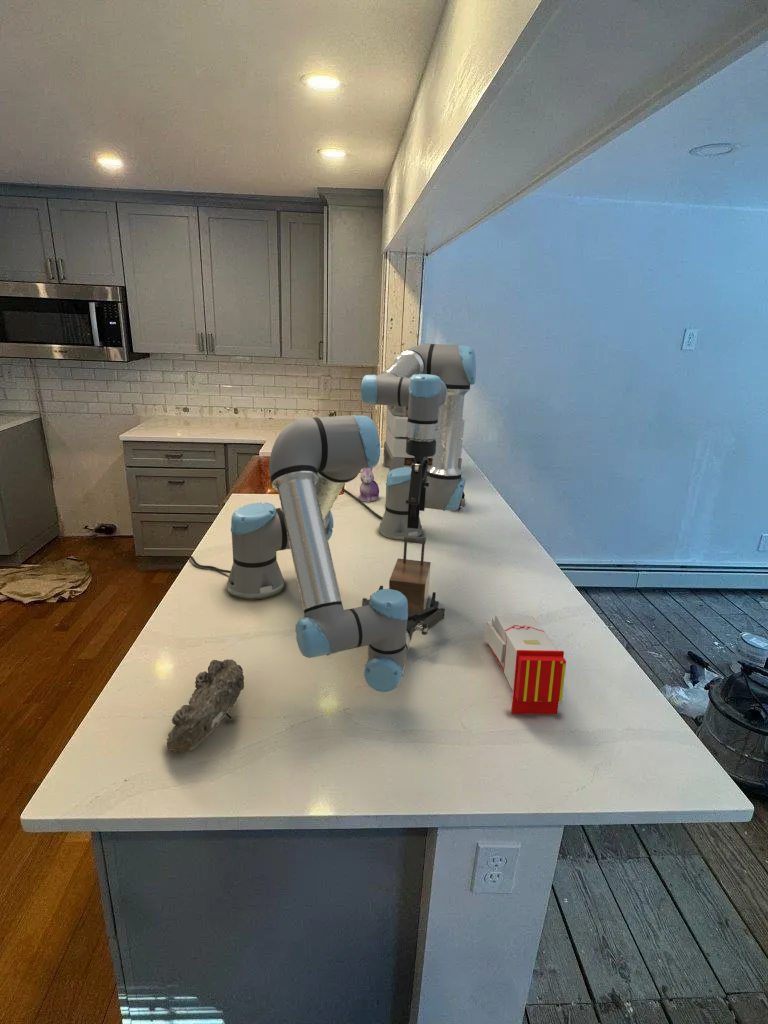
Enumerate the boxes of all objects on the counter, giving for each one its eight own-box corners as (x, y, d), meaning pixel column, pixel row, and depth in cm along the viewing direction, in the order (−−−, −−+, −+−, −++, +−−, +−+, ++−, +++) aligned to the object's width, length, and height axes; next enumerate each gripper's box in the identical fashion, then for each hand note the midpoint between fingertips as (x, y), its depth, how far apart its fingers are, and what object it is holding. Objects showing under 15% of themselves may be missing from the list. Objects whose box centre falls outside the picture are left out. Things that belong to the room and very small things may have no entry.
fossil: (192, 660, 117) (244, 628, 112) (224, 691, 120) (276, 661, 115) (142, 746, 98) (202, 712, 93) (182, 779, 101) (242, 748, 96)
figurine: (363, 503, 228) (365, 467, 223) (353, 496, 237) (354, 461, 232) (384, 501, 233) (386, 465, 227) (373, 493, 241) (374, 459, 236)
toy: (530, 600, 137) (574, 657, 108) (525, 651, 140) (567, 720, 111) (480, 599, 137) (511, 656, 107) (477, 651, 139) (506, 719, 110)
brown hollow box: (395, 593, 158) (397, 562, 155) (428, 597, 157) (430, 566, 154) (387, 616, 146) (389, 583, 143) (422, 621, 145) (425, 587, 142)
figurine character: (465, 515, 224) (460, 499, 237) (467, 498, 221) (462, 483, 234) (448, 515, 224) (444, 499, 237) (450, 498, 220) (445, 482, 234)
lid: (397, 561, 156) (399, 531, 153) (430, 565, 154) (433, 535, 151) (389, 583, 143) (390, 551, 140) (425, 587, 141) (427, 555, 139)
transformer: (382, 463, 289) (386, 382, 275) (445, 464, 293) (451, 384, 279) (390, 482, 257) (394, 392, 243) (460, 483, 261) (468, 394, 247)
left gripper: (338, 644, 128) (359, 600, 148) (449, 660, 125) (455, 612, 144) (339, 615, 126) (360, 574, 146) (451, 630, 122) (457, 586, 142)
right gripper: (431, 451, 129) (425, 537, 136) (440, 430, 152) (435, 504, 159) (398, 448, 130) (394, 534, 137) (413, 428, 153) (408, 502, 160)
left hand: (407, 593), depth 145 cm, fingers open, 13 cm apart
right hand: (416, 518), depth 148 cm, fingers open, 13 cm apart
